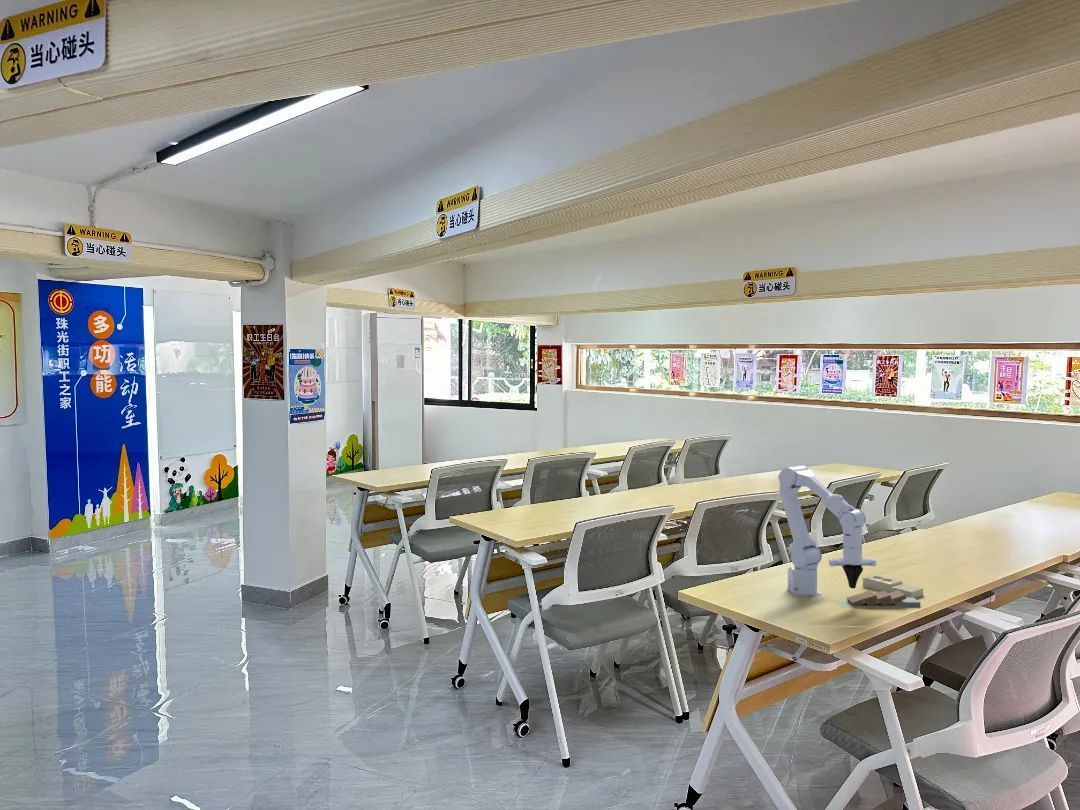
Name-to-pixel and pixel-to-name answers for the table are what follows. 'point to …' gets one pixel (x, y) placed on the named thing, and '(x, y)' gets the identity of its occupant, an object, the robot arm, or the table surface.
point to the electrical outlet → (891, 585)
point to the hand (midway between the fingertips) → (852, 587)
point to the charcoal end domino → (907, 602)
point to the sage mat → (846, 604)
